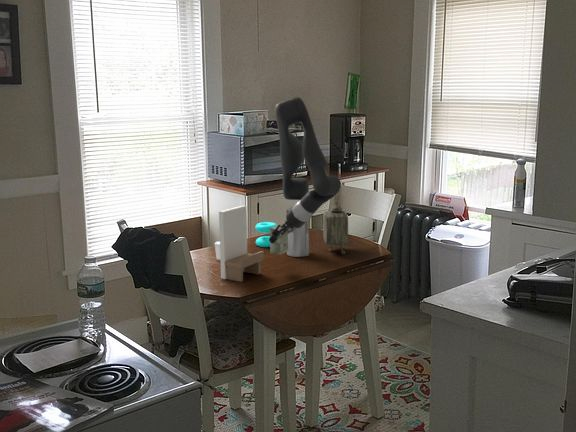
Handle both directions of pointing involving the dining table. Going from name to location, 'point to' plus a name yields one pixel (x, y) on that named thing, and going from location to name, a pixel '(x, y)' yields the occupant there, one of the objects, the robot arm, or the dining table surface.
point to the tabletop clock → (335, 226)
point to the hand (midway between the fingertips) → (275, 239)
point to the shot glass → (217, 249)
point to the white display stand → (236, 245)
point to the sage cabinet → (279, 243)
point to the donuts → (264, 228)
